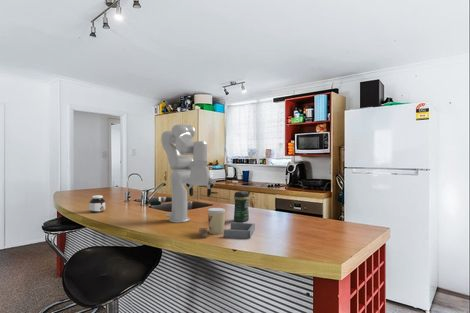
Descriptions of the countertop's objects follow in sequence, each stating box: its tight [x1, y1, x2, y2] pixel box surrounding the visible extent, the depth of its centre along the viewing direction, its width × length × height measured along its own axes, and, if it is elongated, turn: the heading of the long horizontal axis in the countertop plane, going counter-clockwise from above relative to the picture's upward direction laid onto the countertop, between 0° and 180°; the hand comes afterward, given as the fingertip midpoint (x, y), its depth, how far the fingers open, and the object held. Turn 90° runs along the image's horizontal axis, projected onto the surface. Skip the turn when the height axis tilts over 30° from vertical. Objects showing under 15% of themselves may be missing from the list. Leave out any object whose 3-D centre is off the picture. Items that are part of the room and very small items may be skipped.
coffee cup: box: [207, 207, 226, 235], centre depth 145 cm, size 9×9×12 cm
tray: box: [223, 222, 256, 239], centre depth 142 cm, size 13×16×4 cm
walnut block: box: [198, 227, 208, 239], centre depth 136 cm, size 4×4×4 cm
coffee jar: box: [233, 190, 250, 223], centre depth 172 cm, size 10×8×19 cm
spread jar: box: [88, 194, 106, 214], centre depth 202 cm, size 12×11×12 cm
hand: (200, 196), depth 148 cm, fingers open, 9 cm apart
